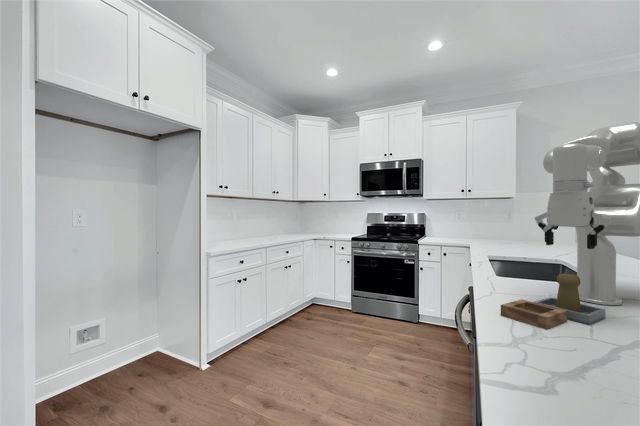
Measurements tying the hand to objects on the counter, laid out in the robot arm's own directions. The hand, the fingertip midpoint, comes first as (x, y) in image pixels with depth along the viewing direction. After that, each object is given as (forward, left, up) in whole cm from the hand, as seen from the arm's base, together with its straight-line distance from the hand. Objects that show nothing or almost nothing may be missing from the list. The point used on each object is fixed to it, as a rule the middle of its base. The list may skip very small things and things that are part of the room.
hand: (569, 246), depth 84 cm
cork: (+1, 0, -19) cm, 19 cm away
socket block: (+14, -3, -20) cm, 24 cm away
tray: (+1, 0, -20) cm, 20 cm away
